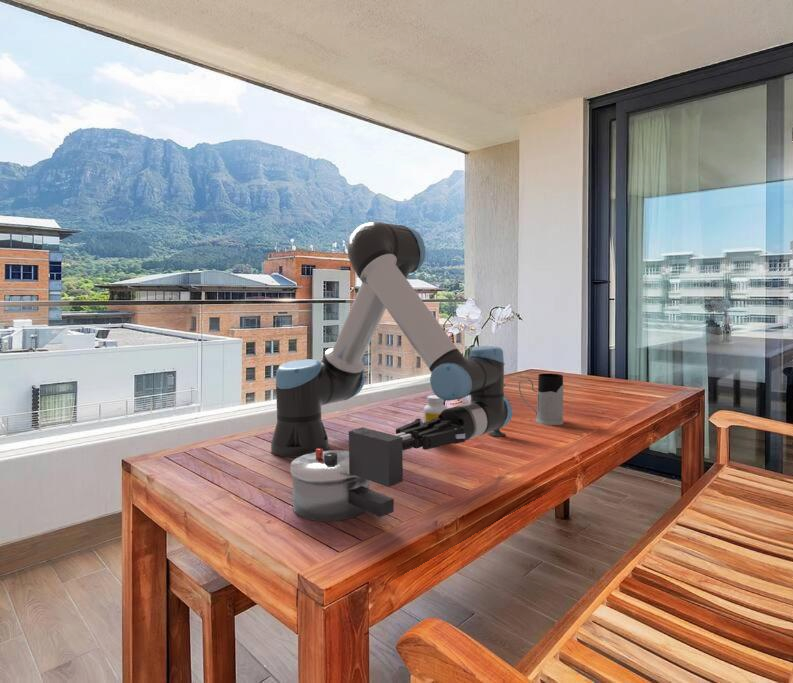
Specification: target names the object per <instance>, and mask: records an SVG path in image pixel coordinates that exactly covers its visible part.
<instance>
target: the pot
mask: <svg viewBox="0 0 793 683" xmlns="http://www.w3.org/2000/svg"><path fill="white" fill-rule="evenodd" d="M291 478H292V479H291V482H292V484H291V485H292V510H293V512H294V513H295V514H296V515H297V516H299V517H300V518H302V519H306V520H310V521H313V522H340V521H344V520H345V521H346V520H348V519H349V520H350V519H352V518H355V517H358V516H360V515H362V514H363V513H365V512H368V513H370V514H372V515H373V516H377V517H379V518H382V517H385V516H388V515H390V514H393V513H394V512H395V504H394V502H395V501H394V500H395V499H394V498H393V497H390V496H388V495H386V494H384V493H380V492H378V491H376V490H373V489H371V488H370V481H369V480H366V479H364V478H361V477H360V478H357V479H355V480H351V481H346V482H340V483H328V484H322V483H310V482H305V481H301V480H298V479H296V478H295V477H293V476H292V475H291Z"/></svg>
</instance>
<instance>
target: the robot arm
mask: <svg viewBox="0 0 793 683" xmlns="http://www.w3.org/2000/svg"><path fill="white" fill-rule="evenodd" d="M347 243H348V244H347V255H348V259H349V262H350V265H351V267H352V269H353V271H354V273H355V274H356V276H357V277H358V278H359V280H360V281H361V284H360V287H359V288H358V291H357V293H356V295H355V298H354V300H353V301H352V304H351V307H350V309H349V311H348V313H347V316H346V318H345V320H344V322H343V325H342V326H341V327H342V328H341V329H340V331H339V334H338V337H337V339H336V341H335V343H334V344H333V347H329V348H328V349H326V351H325V352H324V355H323V357H322V360H321V361H318V360H317V359H310V358H309V359H306V358H305V359H298V360H297V359H296V360H290V361H288V362H285V363H282V364H280V365H279V366H278V367H277V369H276V371H275V381H274V385H275V393H276V394H275V395H276V426H275V428H274V431H273V434H272V439H271V443H270V448H271V449H270V450H271V453H272V452H273V454H274V455H276V456H279V457H284V458H287V457H288V458H298V457H300V456H303V455H306V454H310V453H314V452H316V449H317V448H322V449H323V451H328V449H329V445H330V444H329V436H328V435H327V430H326V428H325V426H324V423H323V421H322V406H323V405H329V404H332V403H337V402H344V401H347V400H349V399H352V398H353V397H355V396H357V395H358V394H360V392H361V390H362V389H363V387H364V385H365V382H366V380H365V379H366V377H365V376H364V374H365V369H364V368H365V367H364V366H365V364H364V362H363V358H364V355H365V353H366V351H367V350H368V347H369V345H370V343H371V341H372V339H373V337H374V335H375V332H376V330H377V328H378V327H379V324H380V322H381V320H382V317H383V315H384V313H385V312H386V311H387V312H388V313H389V315H390V316H391V318H392V319H393V320H394V322H395V323H396V324H397V326H398V327H399V329H400V331H401V332H402V333H403V334H404V336H405V337H406V339H407V340H408V342H410V344H411V346H412V347H413V349H414V350H415V352H416V353H417V355H418V356H419V357H420V358H421V360H422V362H423V363H424V364H425V365H426V367H427V368H428V370H429V371H430V372H431V374H430V378H429V382H430V387H431V390H432V392H433V393H434V394H433V395H436V396H437V397H439V398H440V399H443V400H444V401H449V402H450V401H456V400H462V399H464V398H467V397H468V396H470V402H467V403H462V404H458V405H456V406H452V407H449V408H448V407H447V409H445V410H443V411H442V412H441V413H440V415H439V417H438V418H435V419H432V420H430V421H428V422H424V420H422V419H421V418H416V419H415V420H414V421H412V422H409V423H406V424H405V425H403V426H399V427H397V428H395V434H394V435H396V436H400V437H402V448H403V452H404V451H408V450H411V449H420V448H422V450H425V451H426V450H430V449H431V450H432V449H435V448H440V447H444V446H447V445H451V444H452V445H456V444H457V445H458V444H460V443H465V442H466V441H471V440H472V439H474V438H476V437H479V436H481V435H485V434H487V433H488V434H489V433H490V432H493V431H495V430H498V429H499V430H500V429H502V428H504V427H505V426H507V425H509V423H510V422H511V420H512V417H513V408H512V406H511V404H510V403H511V402H510V400H509V399H508V398H507V397H506V398H504V396H505V391H504V390H505V389H504V387H505V386H504V385H505V384H504V381H505V377H504V376H505V360H504V350H503V348H501V347H500V346H499V347H498V346H491V345H490V346H489V345H488V346H487V345H485V346H484V345H483V346H482V345H480V346H474V347H472V348H471V349H470V352H469V357H468V358H465V356H464V355H463V354H462V353H461V351H460V350H459V349H458V346H456V344H454V342H453V341H452V339H451V338H450V336H448V334H447V332H446V331H445V329H444V328H443V326H441V324H440V323H439V321H438V320H437V319H436V317H435V316H434V314H432V312H431V310H430V309H429V308H428V307H427V305H426V304H425V302H424V301H423V300H422V298H421V296H419V294H418V293H417V291H416V290H415V289H414V288H413V286H412V285H411V283H410V281H409V280H408V276H409V274H412V273H414V272H416V271H418V270H419V269H420V268H422V266H423V264H424V262H425V259H426V252H427V251H426V250H427V249H426V246H425V242H424V239H423V236H421V234H420V233H419V231H417V230H415V229H414V228H411V227H407V226H406V225H402V224H393V223H384V222H380V221H369V222H368V221H367V222H365V223H362V224H360V225H358V226H357V227H356V228H355V229H354V230H353V232H352V233H351V235H350V237H349V240H348V242H347ZM507 399H508V400H509V401H508V400H507Z"/></svg>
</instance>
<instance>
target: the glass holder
mask: <svg viewBox="0 0 793 683" xmlns="http://www.w3.org/2000/svg"><path fill="white" fill-rule="evenodd" d="M537 379H538V382H537V383H538V384H537V385H538V386H537V387H538V389H537V390H536V389H535V390H534V384H533V383H534V382H533V380H531V379H530V378H527V377H524V378H521V379H520V381H519V384H518V390H519V391H518V392H519V394H520V397H521V399H522V401H523V402H524V403H525V404H526V405H527V406H528V407H530V408H531V409H532V411H534V412H535V415H536V419H535V423H537V424H540V425H545V426H546V425H547V426H561V425H563V424H564V423H565V421H564V418H563V415H564V375H563V374H559V373H539V374H538V378H537ZM523 380H528V381H529V382H530V383H531V390H532V392H535V393H537V397H536V398H537V407H536V408H537V409H535V408H534V407H533V406H532V405H531V404H529V403H528V401H526V399H525V397H523V394H522V391H521V382H522V381H523Z"/></svg>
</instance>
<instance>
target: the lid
mask: <svg viewBox="0 0 793 683" xmlns="http://www.w3.org/2000/svg"><path fill="white" fill-rule="evenodd" d="M403 452H404V451H403V448H402V437H400V436H396V435H395V434H392V433H387V432H384V431H380V430H376V429H370V428H367V427H357V428H356V429H355V428H354V429H352V430H348V450H342V449H341V450H340V449H339V450H338V449H337V450H335V449H334V450H326V451H323V449H322V448H317V449H316V452H314V453H310V454H306V455H303V456H300V457H295V458H294V460H292V461H291V463H290V468H289V470H290V474H291V477H292V476H293V477H295V478H296V479H298V480H301V481H305V482H310V483H322V484H328V483H340V482H346V481H351V480H355V479H357V478H360V477H361V478H364V479H366V480H369V482H373V483H376V484H378V485H381V486H384V487H388V488H390V487H394V486H395V485H398V484H400V483H402V482H403V480H404V479H403V476H404V474H403V464H404V462H403V459H404V458H403Z"/></svg>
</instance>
